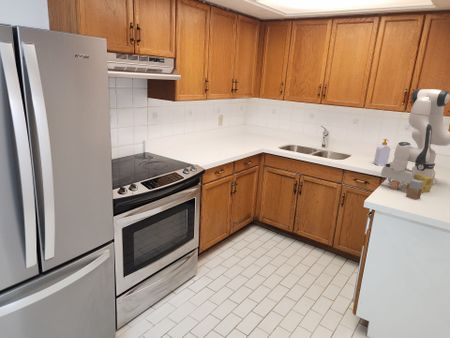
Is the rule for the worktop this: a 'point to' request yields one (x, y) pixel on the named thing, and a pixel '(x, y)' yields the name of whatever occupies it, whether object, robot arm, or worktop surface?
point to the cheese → (424, 182)
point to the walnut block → (413, 193)
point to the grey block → (415, 184)
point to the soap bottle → (382, 154)
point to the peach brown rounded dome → (394, 184)
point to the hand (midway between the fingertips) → (394, 186)
